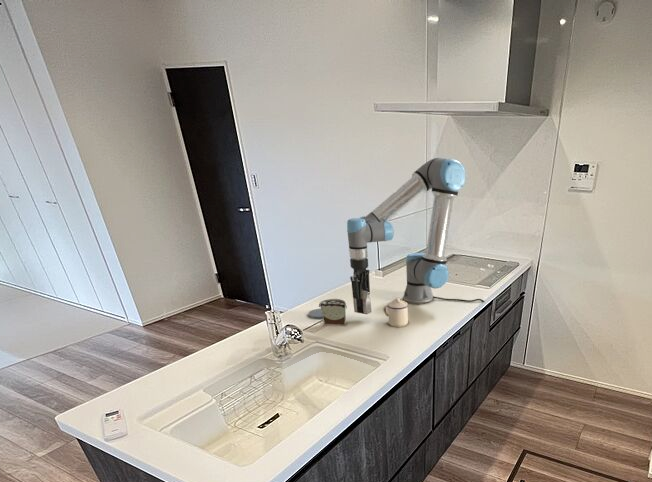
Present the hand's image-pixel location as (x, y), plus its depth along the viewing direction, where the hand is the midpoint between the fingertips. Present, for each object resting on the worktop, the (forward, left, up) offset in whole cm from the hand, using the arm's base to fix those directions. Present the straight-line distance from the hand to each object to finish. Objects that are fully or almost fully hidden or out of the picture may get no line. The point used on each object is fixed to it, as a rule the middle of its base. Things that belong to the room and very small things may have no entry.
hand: (362, 310), depth 194 cm
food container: (+10, +7, -5) cm, 13 cm away
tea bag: (0, 0, -1) cm, 1 cm away
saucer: (+22, +1, -4) cm, 22 cm away
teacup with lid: (-15, -2, -5) cm, 16 cm away
